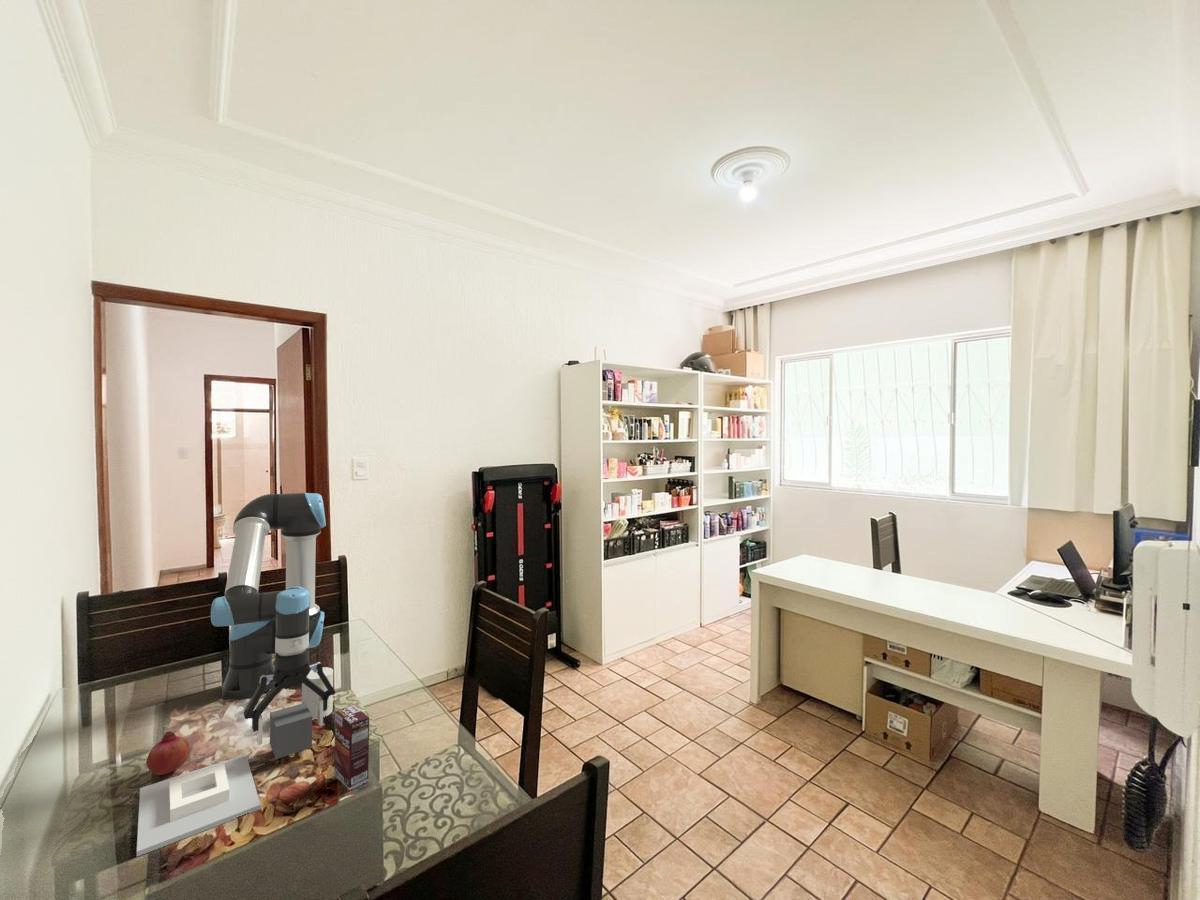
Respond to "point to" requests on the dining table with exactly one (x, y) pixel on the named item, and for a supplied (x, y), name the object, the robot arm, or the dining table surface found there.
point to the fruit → (168, 754)
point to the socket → (194, 803)
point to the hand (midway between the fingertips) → (290, 732)
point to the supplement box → (351, 747)
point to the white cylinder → (312, 698)
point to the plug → (290, 730)
